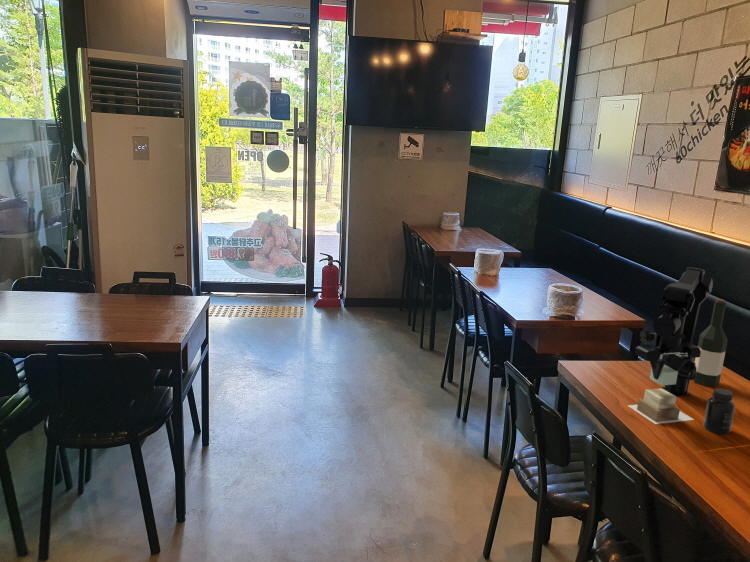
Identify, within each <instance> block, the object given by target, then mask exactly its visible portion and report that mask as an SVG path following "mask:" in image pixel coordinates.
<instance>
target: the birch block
mask: <svg viewBox="0 0 750 562" xmlns="http://www.w3.org/2000/svg"><path fill="white" fill-rule="evenodd" d="M677 397H678V396H674V395H673V394H671V393H669V392H667V391H666V390H664V389H662V387H661V388H660V387H659V388H652V389H645V390H644V396H643V399H644V401H645V402H647V403H649V404H650V405H652V406H653V407H655V408H657V409H666V408H675V406H676V402H677Z"/></svg>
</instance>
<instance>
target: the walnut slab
mask: <svg viewBox="0 0 750 562" xmlns="http://www.w3.org/2000/svg"><path fill="white" fill-rule="evenodd" d="M637 404H638V405H637ZM637 404H636V405H637V410H638V411H640V412H641V413H643V414H644V415H646V416H647V417H649V418H650V419H652V420H653V421H655V422H661V421H670V420H678V417H679V412H680V411H681V409H680V407H678V406H676V405H675V408H666V409H657V408H655V407H653V406H652V405H650V404H649V403H647V402H645V401H644V398H639V399H638V400H637Z"/></svg>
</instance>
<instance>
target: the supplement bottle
mask: <svg viewBox="0 0 750 562" xmlns="http://www.w3.org/2000/svg"><path fill="white" fill-rule="evenodd" d="M733 397H734V393H733V392H732V391H731V390H728V389H726V388H725V389H724V388H714V389H713V392H712V396H711V397H709V398H708V399H707V402H706V408H705V413H704V418H703V419H704V420H703V428H704V429H705V430H707V431H708V432H710V433H713V434H715V435H723V436H725V435H729V434H730V433H731V431H732V426H733V419H734V413H735V411H736V405H735V403H734V401H733Z"/></svg>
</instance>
